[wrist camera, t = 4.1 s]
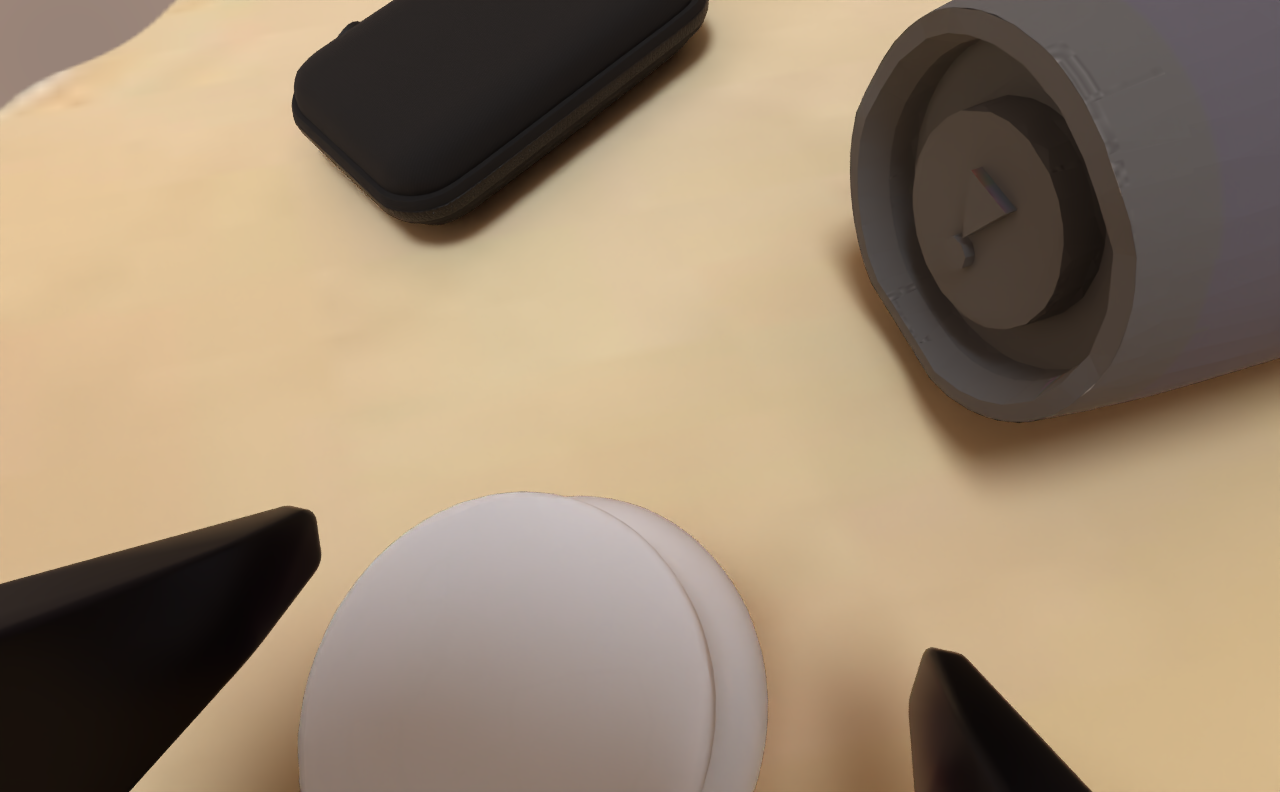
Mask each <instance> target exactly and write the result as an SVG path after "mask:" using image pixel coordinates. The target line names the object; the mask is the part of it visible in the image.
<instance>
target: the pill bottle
mask: <svg viewBox="0 0 1280 792" xmlns="http://www.w3.org/2000/svg"><path fill="white" fill-rule="evenodd" d="M767 723H768V694H767V681H766V673H765V667H764V660H763V655H762V651H761V647H760V644H759V641H758V637H757V634H756V631H755V628H754V625H753V622H752V620H751V617H750V615H749V612H748V610H747V608H746V606H745V604H744V602H743V600H742V598H741V596H740V594H739V593H738V591H737V589H736V588H735V586H734V584H733V583H732V581H731V579H730V578H729V577H728V575H727V574H726V572H725V571H724V570H723V569H722V567H721V566H720V565H719V564H718V562H717V561H716V560H715V559H714V557H713V556H712V555H711V554H710V553H709V552H708V551H707V550H706V549H705V548H704V547H703V546H702V545H701V544H700V543H699V542H698V541H697V540H695V539H694V538H693V537H692V536H691V535H689V534H688V533H687V532H685V531H684V530H683V529H681V528H680V527H679V526H677V525H676V524H674V523H673V522H671V521H669V520H667V519H666V518H664V517H662V516H660V515H658V514H656V513H654V512H652V511H650V510H648V509H645V508H643V507H640V506H637V505H634V504H631V503H627V502H623V501H619V500H615V499H610V498H601V497H593V496H566V497H565V496H561V495H556V494H549V493H538V492H523V491H521V492H510V493H500V494H493V495H488V496H484V497H481V498H477V499H473V500H469V501H466V502H462V503H459V504H456V505H454V506H452V507H450V508H448V509H445V510H443V511H440V512H438V513H436V514H435V515H433V516H431V517H429V518H427V519H426V520H424V521H422V522H421V523H419V524H418V525H416V526H415V527H413V528H412V529H410V530H409V531H407V532H406V533H404V534H403V535H402V536H401V537H399V538H398V539H397V540H396V541H394V542H393V543H392V544H391V545H390V546H389V547H388V548H386V549H385V550H384V551H383V552H382V553H381V554H380V555H379V556H378V557H377V558H376V559H375V560H374V561H373V562H372V563H371V564H370V565H369V567H368V568H367V569H366V570H365V571H364V573H363V574H362V575H361V576H360V577H359V579H358V580H357V581H356V583H355V584H354V585H353V587H352V588H351V589H350V591H349V592H348V594H347V595H346V597H345V598H344V600H343V601H342V603H341V604H340V606H339V607H338V609H337V610H336V612H335V614H334V616H333V618H332V620H331V622H330V624H329V626H328V628H327V630H326V632H325V634H324V636H323V639H322V641H321V643H320V646H319V648H318V651H317V653H316V655H315V658H314V661H313V664H312V667H311V670H310V673H309V676H308V681H307V685H306V689H305V693H304V697H303V704H302V711H301V718H300V724H299V732H298V761H299V785H300V791H301V792H754V789H755V786H756V783H757V780H758V777H759V772H760V768H761V764H762V759H763V753H764V748H765V742H766V733H767Z"/></svg>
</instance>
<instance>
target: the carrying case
mask: <svg viewBox="0 0 1280 792" xmlns="http://www.w3.org/2000/svg"><path fill="white" fill-rule="evenodd" d="M708 4H709V0H393V1H391V2H390V3H388V4H387V5H385V6H384V7H382V8H381V9H379V10H378V11H376V12H375V13H373V14H372V15H370V16H369V17H367V18H366V19H364V20H363V21H361V22H359V21H356V22H352V23H350V24H348V25H347V26H346V27H345V28H344V29H343V30H342V32H341V33H340V34H339V36H338V37H337V38H336V39H334V40H333V41H331V42H330V43H329V44H327V45H326V46H324V47H323V48H321V49H320V50H318V51H317V52H316V53H314V54H313V55H312V56H311V57H310V58H309V59H308V60H307V61H306V62H305V63H304V64H303V65H302V66H301V67H300V69H299V70H298V71H297V74H296V77H295V82H294V95H293V99H292V112H293V117H294V120H295V123H296V125H297V126H298V128H299V129H300V130H301V132H302V133H303V134H304V135H305V136H306V137H307V138H308V139H309V140H310V141H311V142H312V143H313V144H314V145H315V146H317V147H318V148H319V149H320V150H321V151H322V152H323V153H324V154H325V155H326V156H327V157H328V158H329V159H330V160H331V161H332V162H333V163H334V164H336V165H337V166H338V167H339V168H340V169H341V170H342V171H343V172H344V173H345V174H346V175H347V176H348V177H349V178H350V179H351V180H352V181H354V182H355V183H356V184H357V185H358V186H359V187H360V188H361V189H362V190H363V191H364V192H365V193H366V194H367V195H368V196H369V197H370V198H371V199H373V200H374V201H375V202H376V203H377V204H378V205H379V206H380V207H381V208H382V209H383V210H384V211H385V212H387V213H388V214H389V215H391V216H393V217H395V218H397V219H400V220H402V221H406V222H410V223H421V224H423V223H424V224H431V225H439V224H444V223H448V222H451V221H453V220H455V219H458V218H459V217H461V216H463V215H465V214H467V213H468V212H470V211H471V210H473V209H474V208H476V207H477V206H478V205H480V204H481V203H482V202H484V201H485V200H487V199H488V198H489V197H491V196H492V195H493V194H494V193H496V192H497V191H498V190H500V189H501V188H502V187H504V186H505V185H506V184H508V183H509V182H510V181H512V180H513V179H514V178H516V177H517V176H518V175H520V174H521V173H522V172H523V171H525V170H526V169H527V168H529V167H530V166H531V165H533V164H534V163H535V162H537V161H538V160H539V159H541V158H542V157H543V156H545V155H546V154H547V153H548V152H550V151H551V150H552V149H554V148H555V147H556V146H558V145H559V144H560V143H562V142H563V141H564V140H566V139H567V138H568V137H569V136H571V135H572V134H573V133H575V132H576V131H577V130H579V129H580V128H581V127H582V126H584V125H585V124H586V123H588V122H589V121H590V120H591V119H593V118H594V117H595V116H597V115H598V114H599V113H600V112H602V111H603V110H604V109H606V108H607V107H608V106H609V105H611V104H612V103H613V102H614V101H616V100H617V99H618V98H620V97H621V96H622V95H623V94H625V93H626V92H627V91H629V90H630V89H631V88H632V87H634V86H635V85H636V84H637V83H639V82H640V81H641V80H643V79H644V78H645V77H646V76H648V75H649V74H650V73H651V72H653V71H654V70H655V69H656V68H658V67H659V66H660V65H662V64H663V63H664V62H665V61H667V60H668V59H669V58H670V57H672V56H673V55H674V54H675V53H676V52H677V51H679V50H680V49H681V48H682V47H683V46H684V44H685V43H686V42H687V41H688V40H689V38H691V37H692V36H693V35H694V34H695V33H696V32H697V31H698V30H699V28H700V27H701V25H702V23H703V21H704V19H705V16H706V13H707V11H708Z"/></svg>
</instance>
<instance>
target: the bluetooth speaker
mask: <svg viewBox="0 0 1280 792" xmlns="http://www.w3.org/2000/svg"><path fill="white" fill-rule="evenodd" d="M850 184H851V198H852V209H853V216H854V223H855V228H856V233H857V238H858V243H859V247H860V250H861V254H862V258H863V262H864V265H865V268H866V270H867V273H868V275H869V278H870V280H871V283H872V285H873V287H874V288H875V290H876V292H877V293H878V295H879V297H880V298H881V300H882V301H883V303H884V305H885V306H886V308H887V309H888V311H889V313H890V314H891V316H892V317H893V319H894V320H895V322H896V324H897V325H898V327H899V329H900V331H901V332H902V334H903V335H904V337H905V339H906V340H907V342H908V343H909V345H910V346H911V348H912V350H913V351H914V353H915V355H916V356H917V358H918V360H919V361H920V363H921V365H922V366H923V368H924V370H925V371H926V373H927V374H928V376H929V377H930V379H931V380H932V381H933V382H934V383H935V384H936V385H937V386H938V387H939V388H940V389H941V390H942V391H943V392H944V393H945V394H946V395H947V396H948V397H950V398H952V399H953V400H955V401H956V402H958V403H959V404H961V405H962V406H964V407H965V408H967V409H969V410H971V411H973V412H975V413H978V414H980V415H983V416H985V417H988V418H992V419H995V420H999V421H1007V422H1017V423H1020V422H1031V421H1036V420H1042V419H1047V418H1052V417H1057V416H1062V415H1068V414H1073V413H1078V412H1083V411H1088V410H1093V409H1095V408H1100V407H1105V406H1110V405H1114V404H1119V403H1123V402H1127V401H1131V400H1135V399H1139V398H1144V397H1148V396H1152V395H1155V394H1159V393H1162V392H1166V391H1170V390H1173V389H1177V388H1180V387H1184V386H1187V385H1191V384H1194V383H1198V382H1201V381H1204V380H1208V379H1211V378H1214V377H1218V376H1221V375H1224V374H1228V373H1231V372H1234V371H1238V370H1241V369H1244V368H1248V367H1251V366H1254V365H1258V364H1261V363H1264V362H1268V361H1271V360H1275V359H1278V358H1280V0H952V1H950V2H948V3H947V4H945V5H943V6H941V7H939V8H937V9H935V10H933V11H932V12H930V13H928V14H927V15H925V16H923V17H922V18H920V19H919V20H917V21H916V22H915V23H913V24H912V25H911V26H909V27H908V28H907V29H906V30H905V31H904V32H903V33H902V34H901V35H900V36H899V38H898V39H897V40H896V41H895V42H894V43H893V45H892V46H891V48H890V49H889V51H888V52H887V54H886V55H885V57H884V58H883V60H882V61H881V63H880V65H879V67H878V69H877V71H876V73H875V75H874V76H873V78H872V80H871V82H870V84H869V86H868V88H867V90H866V92H865V94H864V96H863V98H862V101H861V103H860V105H859V108H858V110H857V112H856V117H855V122H854V128H853V134H852V142H851V152H850Z"/></svg>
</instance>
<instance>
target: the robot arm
mask: <svg viewBox="0 0 1280 792" xmlns="http://www.w3.org/2000/svg"><path fill="white" fill-rule="evenodd" d="M320 561H321V548H320V541H319V534H318V527H317V520H316V517H315V515H314V514H313V512H311V511H310V510H307V509H302V508H298V507H293V506H283V507H279V508H276V509H272V510H268V511H265V512H261V513H257V514H254V515H250V516H246V517H243V518H239V519H236V520H232V521H228V522H225V523H221V524H217V525H214V526H210V527H206V528H203V529H199V530H195V531H192V532H188V533H184V534H181V535H177V536H174V537H170V538H166V539H163V540H159V541H155V542H152V543H148V544H144V545H141V546H137V547H133V548H130V549H126V550H123V551H119V552H115V553H112V554H108V555H104V556H101V557H97V558H93V559H90V560H86V561H82V562H79V563H75V564H71V565H68V566H64V567H61V568H57V569H53V570H50V571H46V572H42V573H39V574H35V575H31V576H28V577H24V578H20V579H17V580H13V581H10V582H6V583H2V584H0V792H129V791H130V790H131V789H132V788H133V787H134V786H135V785H136V784H137V783H138V781H139V780H140V779H141V778H142V777H143V776H144V775H145V774H146V773H147V771H148V770H149V769H150V768H151V767H152V766H153V765H154V764H155V763H156V761H157V760H158V759H159V758H160V757H161V756H162V755H163V754H164V753H165V751H166V750H167V749H168V748H169V747H170V746H171V745H172V744H173V743H174V741H175V740H176V739H177V738H178V737H179V736H180V735H181V734H182V733H183V731H184V730H185V729H186V728H187V727H188V726H189V725H190V724H191V723H192V721H193V720H194V719H195V718H196V717H197V716H198V715H199V714H200V713H201V711H202V710H203V709H204V708H205V707H206V706H207V705H208V704H209V703H210V701H211V700H212V699H213V698H214V697H215V696H216V695H217V694H218V693H219V691H220V690H221V689H222V688H223V687H224V686H225V685H226V684H227V683H228V681H229V680H230V679H231V678H232V677H233V676H234V675H235V674H236V673H237V671H238V670H239V669H240V668H241V667H242V666H243V665H244V664H245V662H246V661H247V660H248V659H249V658H250V657H251V655H252V654H253V653H254V652H255V650H256V649H257V648H258V647H259V645H260V644H261V643H262V642H263V640H264V639H265V638H266V636H267V635H268V634H269V632H270V631H271V630H272V628H273V627H274V626H275V625H276V623H277V622H278V621H279V619H280V618H281V617H282V615H283V614H284V613H285V611H286V610H287V609H288V607H289V606H290V605H291V603H292V602H293V601H294V599H295V598H296V597H297V595H298V594H299V593H300V591H301V590H302V589H303V588H304V586H305V585H306V584H307V582H308V581H309V580H310V578H311V577H312V576H313V574H314V573H315V572H316V570H317V568H318V566H319V564H320ZM909 725H910V738H911V751H912V764H913V777H914V790H915V792H1092V791H1091V790H1090V789H1089V788H1088V787H1087V786H1086V785H1085V784H1084V783H1083V781H1082V780H1081V779H1080V778H1079V777H1078V776H1077V775H1076V774H1075V773H1074V772H1073V771H1072V770H1071V769H1070V768H1069V767H1068V766H1067V764H1066V763H1065V762H1064V761H1063V760H1062V759H1061V758H1060V757H1059V756H1058V755H1057V754H1056V753H1055V752H1054V751H1053V750H1052V749H1051V747H1050V746H1049V745H1048V744H1047V743H1046V742H1045V741H1044V740H1043V739H1042V738H1041V737H1040V736H1039V735H1038V734H1037V733H1036V732H1035V730H1034V729H1033V728H1032V727H1031V726H1030V725H1029V724H1028V723H1027V722H1026V721H1025V720H1024V719H1023V718H1022V717H1021V716H1020V715H1019V713H1018V712H1017V711H1016V710H1015V709H1014V708H1013V707H1012V706H1011V705H1010V704H1009V703H1008V702H1007V701H1006V700H1005V699H1004V698H1003V696H1002V695H1001V694H1000V693H999V692H998V691H997V690H996V689H995V688H994V687H993V686H992V685H991V684H990V683H989V682H988V680H987V679H986V678H985V677H984V676H983V675H982V674H981V673H980V672H979V671H978V670H977V669H976V668H975V667H974V666H973V665H972V663H971V662H970V661H969V660H968V659H967V658H966V657H964V656H963V655H962V654H959V653H956V652H952V651H947V650H943V649H938V648H933V647H931V648H928V649H926V651H925V652H924V654H923V656H922V659H921V662H920V665H919V668H918V672H917V675H916V678H915V681H914V684H913V687H912V691H911V694H910V699H909Z"/></svg>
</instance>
